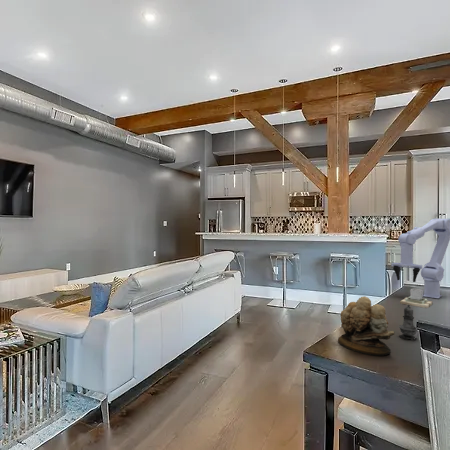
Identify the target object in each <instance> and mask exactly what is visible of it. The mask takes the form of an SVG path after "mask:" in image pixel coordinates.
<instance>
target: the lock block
mask: <svg viewBox="0 0 450 450" xmlns="http://www.w3.org/2000/svg"><path fill="white" fill-rule="evenodd" d="M423 294H424V289H421V288H414V287H413V288H411V289H410V299H411V300H417V301H423V298H424V296H423Z"/></svg>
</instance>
